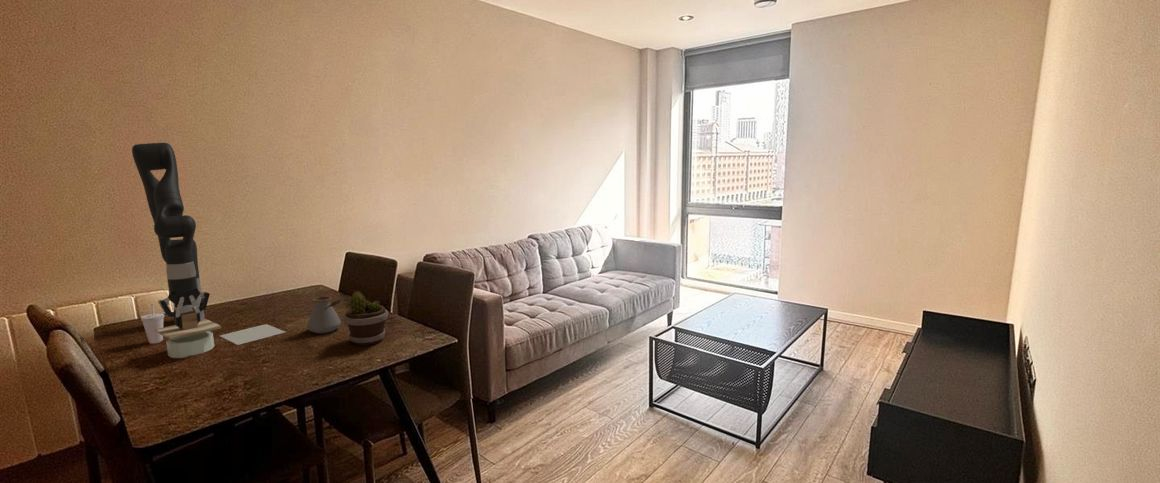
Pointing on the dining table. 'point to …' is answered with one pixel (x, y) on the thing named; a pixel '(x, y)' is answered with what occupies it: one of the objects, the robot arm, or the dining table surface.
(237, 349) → the dining table surface
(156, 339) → the smoothie
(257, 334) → the tray
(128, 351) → the dining table surface
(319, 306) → the coffee pot
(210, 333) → the bowl
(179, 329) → the lid
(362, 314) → the flowerpot
